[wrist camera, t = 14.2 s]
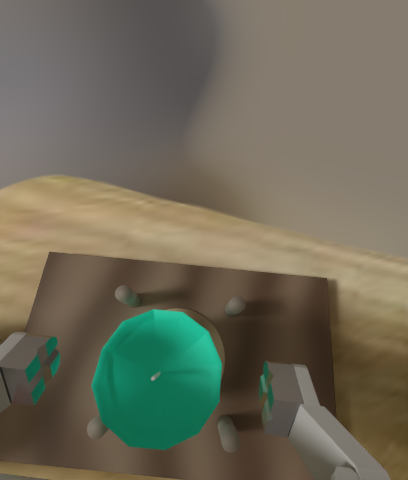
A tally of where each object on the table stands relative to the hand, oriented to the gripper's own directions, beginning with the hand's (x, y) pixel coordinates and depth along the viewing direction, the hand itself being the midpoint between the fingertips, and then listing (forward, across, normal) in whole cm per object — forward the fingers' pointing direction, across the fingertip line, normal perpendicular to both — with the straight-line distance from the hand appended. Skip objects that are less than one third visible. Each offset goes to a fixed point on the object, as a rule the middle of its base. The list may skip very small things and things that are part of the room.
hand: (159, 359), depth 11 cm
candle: (+9, 0, +10) cm, 13 cm away
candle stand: (+10, 0, +11) cm, 15 cm away
